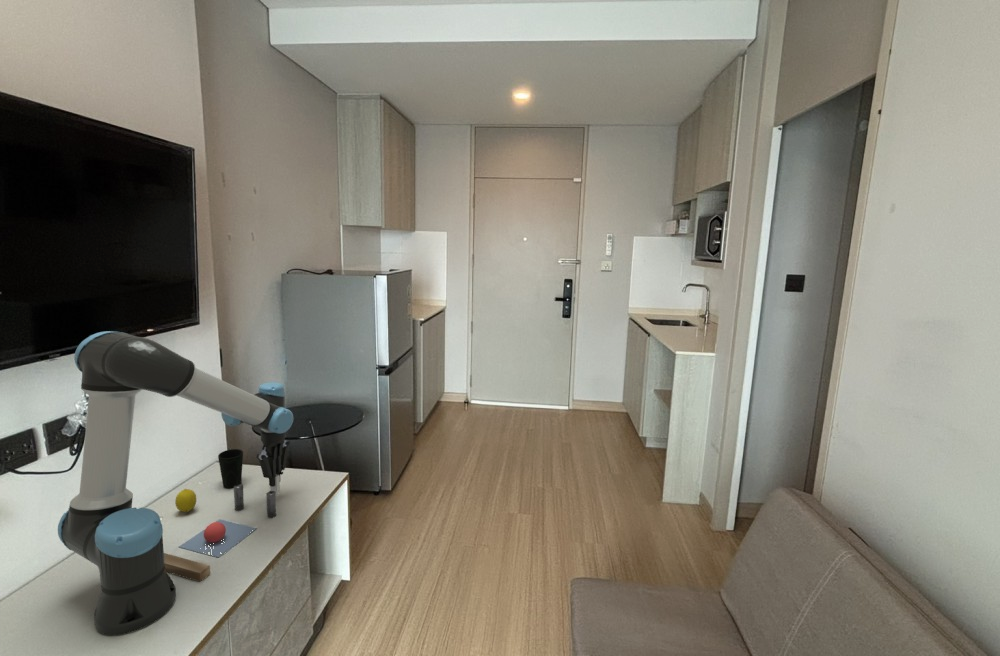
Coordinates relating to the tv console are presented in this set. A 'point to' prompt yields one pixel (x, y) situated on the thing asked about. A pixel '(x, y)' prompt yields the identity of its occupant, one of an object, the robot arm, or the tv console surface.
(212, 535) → the ball
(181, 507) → the lemon
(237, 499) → the post left
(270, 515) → the post right
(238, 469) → the cup
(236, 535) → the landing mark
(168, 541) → the tv console surface
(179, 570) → the wall
